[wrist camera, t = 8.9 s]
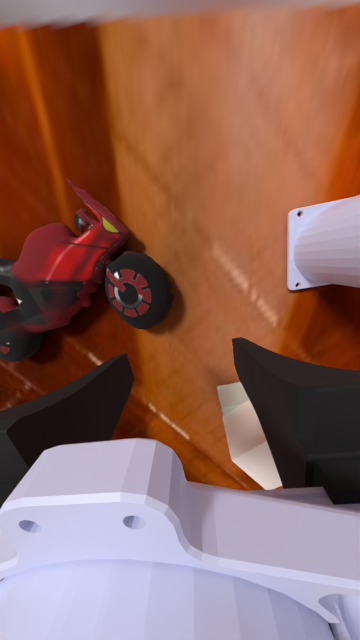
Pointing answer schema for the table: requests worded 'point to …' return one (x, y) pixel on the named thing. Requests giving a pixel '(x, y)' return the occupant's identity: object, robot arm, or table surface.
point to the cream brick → (250, 446)
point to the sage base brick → (231, 396)
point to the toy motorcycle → (76, 280)
